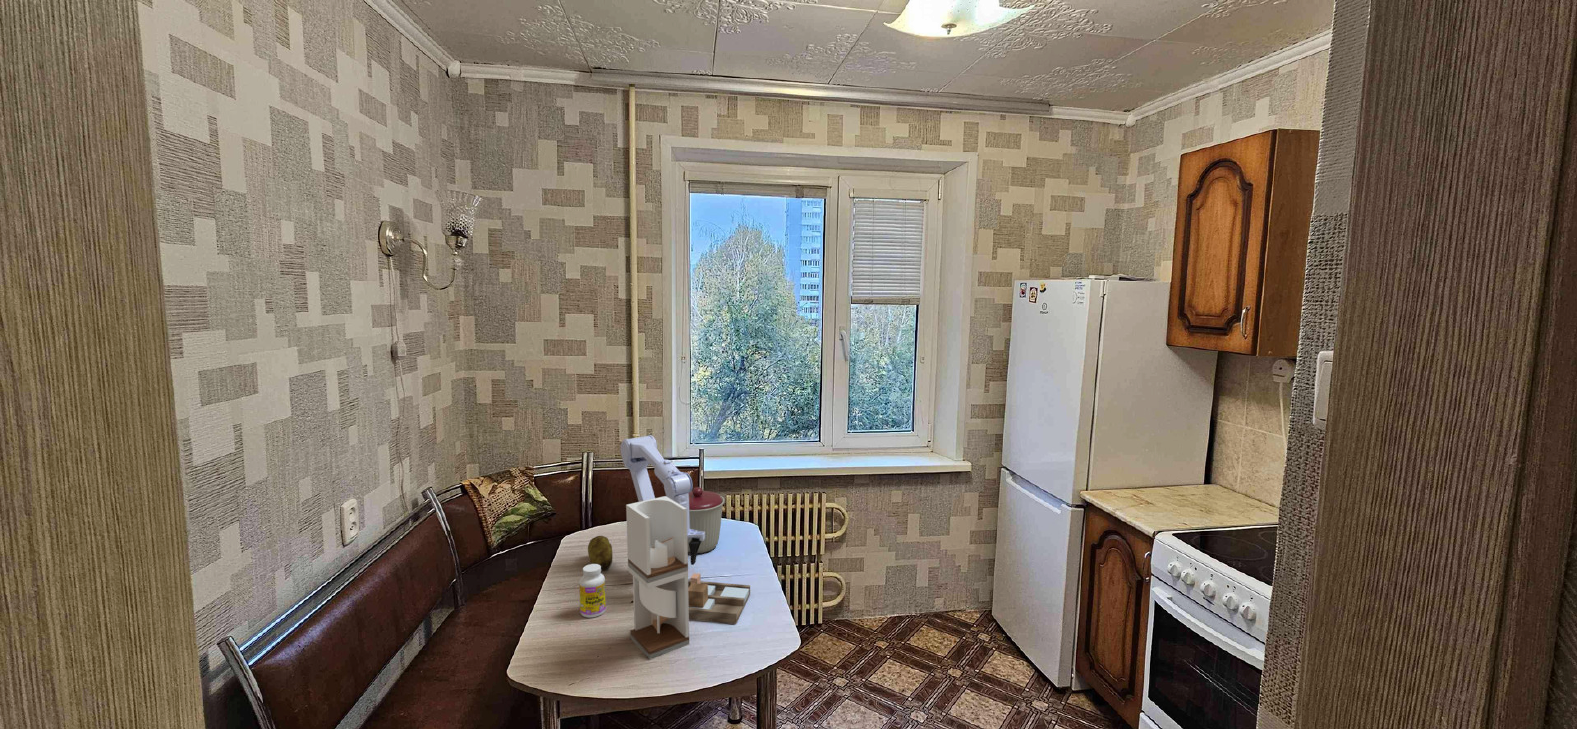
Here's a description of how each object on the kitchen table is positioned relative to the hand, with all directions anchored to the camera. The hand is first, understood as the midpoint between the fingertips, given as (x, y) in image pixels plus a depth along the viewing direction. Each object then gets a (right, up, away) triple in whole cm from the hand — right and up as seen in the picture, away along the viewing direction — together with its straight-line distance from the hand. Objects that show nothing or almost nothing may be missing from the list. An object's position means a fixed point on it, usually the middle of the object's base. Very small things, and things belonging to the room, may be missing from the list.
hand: (680, 562), depth 176 cm
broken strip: (+11, -10, -1) cm, 15 cm away
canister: (0, -6, +35) cm, 35 cm away
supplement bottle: (-22, -11, -8) cm, 26 cm away
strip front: (+2, -10, -7) cm, 12 cm away
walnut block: (+6, -9, -8) cm, 13 cm away
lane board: (+8, -11, -4) cm, 14 cm away
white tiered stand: (-2, -13, -22) cm, 25 cm away
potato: (-29, -8, +21) cm, 37 cm away
